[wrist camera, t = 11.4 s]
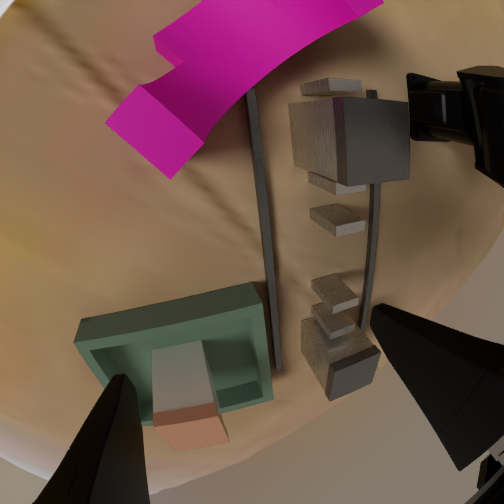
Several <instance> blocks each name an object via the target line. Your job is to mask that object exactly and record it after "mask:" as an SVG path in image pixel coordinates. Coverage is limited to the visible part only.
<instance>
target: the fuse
mask: <svg viewBox="0 0 504 504" xmlns="http://www.w3.org/2000/svg"><path fill="white" fill-rule="evenodd" d="M152 389H153V427H154V428H155V429H156V431H157V432H158V433H159V434H160V435H161V437H162V438H163V439H164V440H165V441H166V442H167V443H168V445H169V446H170V447H171V448H172V449H173V450H174V451H182V450H188V449H195V448H201V447H206V446H212V445H217V444H222V443H226V442H230V441H229V437H228V434H227V430H226V428H225V425H224V421H223V417H222V413H221V409H220V405H219V401H218V397H217V393H216V388H215V384H214V380H213V375H212V371H211V368H210V365H209V362H208V359H207V356H206V353H205V350H204V347H203V344H202V341H201V340H199V341H195V342H190V343H185V344H180V345H175V346H170V347H165V348H160V349H155V350H152Z"/></svg>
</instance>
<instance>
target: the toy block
mask: <svg viewBox="0 0 504 504" xmlns="http://www.w3.org/2000/svg"><path fill="white" fill-rule="evenodd" d="M383 3H384V2H383V0H203V1H202V2H200V3H199V4H198V5H196V6H195V7H194V8H192V9H191V10H190V11H188V12H187V13H186V14H184V15H183V16H181V17H180V18H179V19H177V20H176V21H174V22H173V23H171V24H170V25H169V26H167V27H166V28H164V29H163V30H161V31H160V32H158V33H156V34H155V35H153V38H154V43H155V48H156V51H157V52H158V53H159V54H160V55H162V56H163V57H164V58H165V59H166V60H168V61H169V62H170V63H171V64H172V65H173V66H175V67H176V68H174V69H173V70H171V71H170V72H168V73H167V74H165V75H164V76H162V77H160V78H158V79H157V80H155V81H153V82H151V83H148V84H144V85H138V86H137V87H136V88H135V89H134V90H133V91H132V92H131V93H130V94H129V95H128V97H127V98H126V99H125V100H124V101H123V102H122V103H121V104H120V105H119V107H118V108H117V109H116V110H115V111H114V112H113V113H112V115H111V116H110V117H109V118H108V119H107V121H106V122H105V124H107V125H108V126H109V127H110V128H111V129H112V130H113V131H115V132H116V133H117V134H118V135H119V136H120V137H122V138H123V139H124V140H125V141H126V142H127V143H129V144H130V145H131V146H132V147H133V148H134V149H136V150H137V151H138V152H139V153H140V154H141V155H142V156H144V157H145V158H146V159H147V160H148V161H149V162H151V163H152V164H153V165H154V166H155V167H156V168H158V169H159V170H160V171H161V172H162V173H163V174H165V175H166V176H167V177H168V178H169V179H170V180H171V178H172V177H173V176H174V175H175V174H176V173H177V172H178V171H179V170H180V169H181V167H182V166H183V165H184V164H185V163H186V162H187V161H188V160H189V159H190V158H191V157H192V156H193V155H194V154H195V153H196V152H197V150H198V149H199V148H200V147H201V146H202V145H203V144H204V143H205V139H206V137H207V135H208V134H209V132H210V131H211V129H212V128H213V127H214V125H215V124H216V123H217V122H218V121H219V119H220V118H221V117H222V116H223V115H224V114H225V113H226V112H227V111H228V110H229V108H230V107H231V106H232V105H233V104H234V103H235V102H236V101H237V100H238V99H239V98H241V97H242V96H243V95H244V94H245V93H246V92H247V91H248V90H249V89H250V88H251V87H253V86H254V85H255V84H256V83H257V82H258V81H260V80H261V79H262V78H263V77H264V76H266V75H267V74H268V73H269V72H271V71H272V70H273V69H274V68H276V67H277V66H278V65H280V64H281V63H282V62H284V61H285V60H286V59H288V58H289V57H291V56H292V55H294V54H295V53H296V52H298V51H299V50H301V49H302V48H304V47H305V46H307V45H309V44H310V43H312V42H313V41H315V40H317V39H318V38H320V37H322V36H324V35H325V34H327V33H329V32H331V31H332V30H334V29H336V28H338V27H340V26H342V25H344V24H346V23H348V22H350V21H353V20H355V19H357V18H359V17H361V16H363V15H364V14H366V13H367V12H369V11H371V10H373V9H374V8H376V7H378V6H379V5H381V4H383Z"/></svg>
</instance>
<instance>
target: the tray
mask: <svg viewBox="0 0 504 504" xmlns="http://www.w3.org/2000/svg"><path fill="white" fill-rule="evenodd" d="M199 340H201V341H202V344H203V347H204V350H205V353H206V356H207V359H208V362H209V365H210V368H211V371H212V375H213V380H214V384H215V388H216V393H217V397H218V401H219V405H220V409H221V413H224V412H229V411H233V410H237V409H241V408H245V407H248V406H252V405H256V404H259V403H263V402H266V401H270V400H273V399H274V397H273V388H272V380H271V371H270V363H269V354H268V346H267V337H266V329H265V320H264V312H263V304H262V301H261V299H260V297H259V295H258V293H257V291H256V289H255V288H254V286H253V284H252V282H249V283H245V284H241V285H237V286H233V287H229V288H224V289H220V290H216V291H212V292H207V293H203V294H199V295H194V296H190V297H185V298H181V299H176V300H172V301H167V302H163V303H158V304H154V305H149V306H144V307H140V308H135V309H130V310H125V311H120V312H115V313H111V314H106V315H101V316H95V317H90V318H85V319H81V321H80V324H79V327H78V330H77V333H76V336H75V339H74V342H73V343H74V344H75V346H76V348H77V349H78V351H79V352H80V354H81V355H82V357H83V358H84V360H85V362H86V363H87V364H88V366H89V367H90V369H91V370H92V372H93V373H94V375H95V376H96V377H97V379H98V380H99V382H100V383H101V384H102V386H103V387H104V388H106V386H107V384H108V383H109V381H110V380H111V378H112V377H113V375H114V374H119V373H125V374H127V376H128V377H129V379H130V380H131V382H132V383H133V385H134V387H135V389H136V392H137V398H138V405H139V412H140V418H141V424H142V426H150V425H153V389H152V350H155V349H160V348H165V347H170V346H175V345H180V344H185V343H190V342H195V341H199Z"/></svg>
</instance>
